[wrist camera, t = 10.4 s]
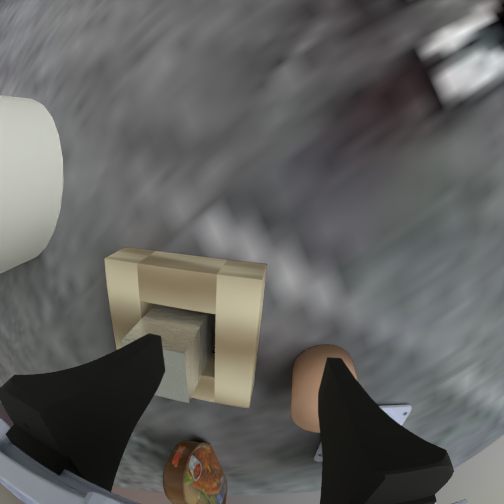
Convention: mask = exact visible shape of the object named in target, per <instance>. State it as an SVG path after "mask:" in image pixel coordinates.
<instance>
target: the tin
mask: <svg viewBox="0 0 504 504" xmlns="http://www.w3.org/2000/svg"><path fill="white" fill-rule="evenodd" d="M163 487H164V491H165V494H166V496H167V498H168V499H169V500H170V501H171V502H172V503H173V504H225V503H226V497H227V481H226V477H225V475H224V473H223V471H222V469H221V467H220V465H219V462H218V460H217V458H216V456H215V453H214V451H213V449H212V447H211V446H210V445H209V444H208V443H205V442H202V443H200V442H194V441H182V442H179V443H178V444H177V445H176V446H175V448H174V450H173V451H172V453H171V455H170V457H169V459H168V462H167V464H166V465H165V468H164V472H163Z"/></svg>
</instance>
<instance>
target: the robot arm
mask: <svg viewBox="0 0 504 504" xmlns="http://www.w3.org/2000/svg"><path fill="white" fill-rule="evenodd" d="M164 373H165V364H164V356H163V348H162V339H161V336H160V335H155V334H150V333H149V334H146V335H144V336H142V337H140V338H139V339H137V340H135V341H133V342H131V343H129V344H127V345H126V346H124V347H122V348H120V349H118V350H116V351H114V352H112V353H110V354H108V355H105V356H103V357H101V358H99V359H97V360H94V361H92V362H89V363H86V364H84V365H81V366H77V367H74V368H70V369H66V370H62V371H58V372H52V373H45V374H35V375H14V376H13V377H12V378H11V379H9V380H8V381H7V382H6V383H5V384H4V385H3V386H2V387H1V388H0V401H1V403H2V405H3V406H4V408H5V410H6V412H7V413H8V415H9V417H10V418H11V420H12V421H13V423H14V425H13V426H12V427H11V428H10V426H9V425H8V424H7V423H6V422H4V421H3V420H2V419H1V418H0V483H2V485H4V486H5V487H6V488H7V489H8V490H9V491H11V492H12V493H13V494H14V495H15V496H16V497H18V498H19V499H20V500H21V501H23V502H24V503H25V504H140V503H137V502H134V501H132V500H129V499H127V498H124V497H121V496H119V495H117V494H114V493H112V492H111V490H112V486H113V483H114V479H115V476H116V473H117V470H118V467H119V464H120V461H121V458H122V456H123V453H124V450H125V448H126V445H127V443H128V441H129V438H130V436H131V434H132V432H133V429H134V428H135V426H136V424H137V422H138V420H139V419H140V417H141V416H142V414H143V412H144V411H145V409H146V407H147V406H148V404H149V403H150V401H151V399H152V398H153V396H154V394H155V393H156V391H157V389H158V387H159V385H160V383H161V381H162V378H163V376H164ZM411 409H412V408H411V405H408V404H407V405H385V406H378V405H377V404H376V403H375V402H374V401H373V400H372V398H371V397H370V396H369V395H368V394H367V393H366V391H365V390H364V389H363V388H362V386H361V385H360V384H359V382H358V381H357V380H356V378H355V377H354V376H353V374H352V373H351V371H350V370H349V368H348V367H347V365H346V364H345V363H344V361H343V360H342V358H332V357H327V360H326V364H325V368H324V372H323V376H322V380H321V384H320V387H319V391H318V417H319V427H320V436H321V443H320V445H319V447H318V449H317V452H316V454H315V456H314V460H315V461H317V462H323V465H322V486H321V499H320V504H436V497H435V494H436V493H437V492H438V491H439V490H440V489H441V488H442V487H443V486H444V485H445V484H446V483H447V482H448V480H449V479H450V478H451V476H452V474H453V472H454V470H453V466H452V463H451V460H450V458H449V455H448V453H447V451H446V450H445V449H442V448H440V447H438V446H436V445H433V444H431V443H429V442H427V441H425V440H423V439H422V438H420V437H418V436H416V435H415V434H413V433H411V432H410V431H408V430H407V429H405V428H404V427H403V426H402V425H403V423H404V421H405V420H406V418H407V416H408V414H409V413H410V411H411ZM404 412H405V413H404ZM452 504H468V503H467V500H465V499H464V500H461V501H459V502H456V503H452Z"/></svg>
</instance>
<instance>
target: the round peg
mask: <svg viewBox="0 0 504 504" xmlns="http://www.w3.org/2000/svg"><path fill="white" fill-rule="evenodd" d="M327 357H332V358H342V360H343V361H344V363H345V364H346V365H347V367H348V368H349V370H350V371H351V373H352V374H353V376H354V377H355V378H356V373H355V369H354V365H353V361H352V358H351V356H350V355H349V353H348V352H347V351H346V350H344V349H343V348H341V347H338V346H335V345H329V344H324V345H317V346H314V347H311V348H309V349H307V350H305V351H304V352H302V353H301V354H300V355H299V356H298V357H297V359H296V360H295V362H294V365H293V377H292V401H291V417H292V419H293V421H294V422H295V424H296V425H297V426H299V427H300V428H302V429H304V430H307V431H310V432H317V433H320V427H319V417H318V391H319V387H320V384H321V380H322V376H323V372H324V368H325V364H326V360H327ZM356 380H357V378H356Z"/></svg>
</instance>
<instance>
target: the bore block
mask: <svg viewBox="0 0 504 504" xmlns="http://www.w3.org/2000/svg"><path fill="white" fill-rule="evenodd" d="M266 266H267V264H261V263H252V262H243V261H235V260H226V259H218V258H209V257H201V256H193V255H185V254H176V253H168V252H160V251H152V250H144V249H136V248H128V247H125V248H123V249H121V250H119V251H117V252H115V253H114V254H112V255H110V256H108V257H106V258H105V270H106V280H107V289H108V297H109V305H110V312H111V319H112V325H113V331H114V337H115V342H116V348H117V350H118V349H120V348H122V347H123V343H122V339H123V338H124V337H125V336H126V335H127V334H128V333H129V332H130V331H131V329H132V328H133V327H134V326H135V325H136V324H137V323H138V322H139V321H140V320H141V319H142V318H143V317H144V316H145V315H146V314H147V313H148V312H149V311H150V309H151V308H152V307H153V306H154V305H155V304H159V305H164V306H169V307H175V308H181V309H186V310H192V311H198V312H205V313H211V314H216V323H215V354H214V353H211V355H210V357H209V359H208V362H207V364H206V366H205V368H204V371H203V373H202V375H201V377H200V380H199V382H198V384H197V386H196V389H195V391H194V393H193V395H192V397H191V398H196V399H200V400H205V401H210V402H215V403H221V404H226V405H232V406H238V407H245V408H249V406H250V401H251V396H252V392H253V387H254V380H255V371H256V362H257V353H258V344H259V335H260V325H261V316H262V306H263V296H264V286H265V276H266Z"/></svg>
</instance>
